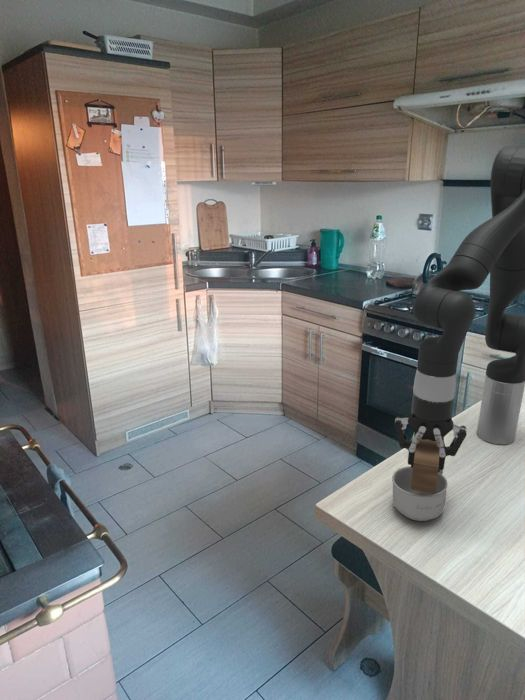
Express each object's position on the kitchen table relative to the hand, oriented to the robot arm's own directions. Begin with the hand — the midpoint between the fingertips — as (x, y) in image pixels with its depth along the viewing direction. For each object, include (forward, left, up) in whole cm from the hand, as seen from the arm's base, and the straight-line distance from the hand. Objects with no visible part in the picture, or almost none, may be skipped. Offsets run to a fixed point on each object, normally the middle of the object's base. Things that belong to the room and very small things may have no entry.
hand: (425, 467), depth 100 cm
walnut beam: (0, 0, -1) cm, 1 cm away
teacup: (0, 0, -10) cm, 10 cm away
